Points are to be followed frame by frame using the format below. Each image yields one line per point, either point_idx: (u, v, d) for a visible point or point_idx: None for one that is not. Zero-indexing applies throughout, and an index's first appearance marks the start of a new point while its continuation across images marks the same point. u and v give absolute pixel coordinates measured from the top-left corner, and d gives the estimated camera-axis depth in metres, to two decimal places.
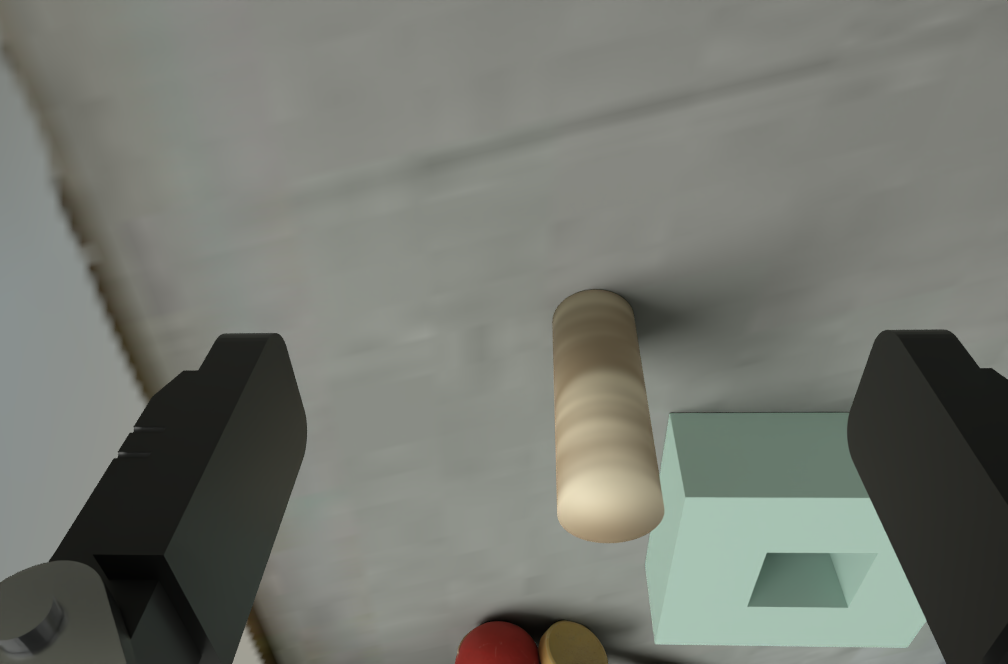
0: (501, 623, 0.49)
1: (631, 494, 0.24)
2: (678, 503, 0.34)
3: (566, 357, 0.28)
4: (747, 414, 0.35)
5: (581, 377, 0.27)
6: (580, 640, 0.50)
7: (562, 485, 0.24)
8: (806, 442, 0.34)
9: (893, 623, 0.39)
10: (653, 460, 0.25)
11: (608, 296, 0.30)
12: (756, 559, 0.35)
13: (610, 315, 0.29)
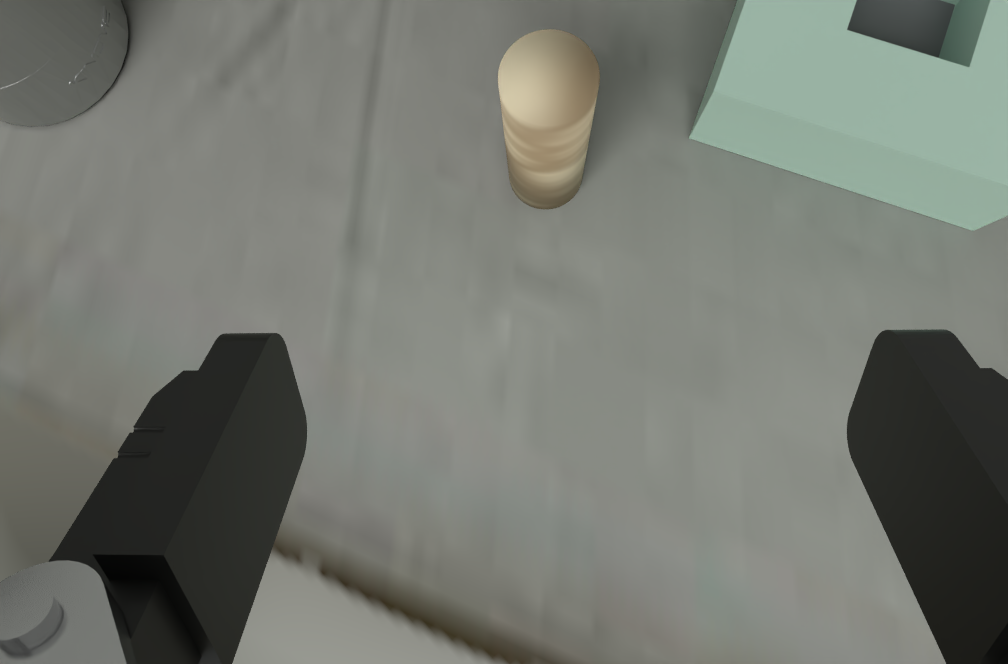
0: None
1: (525, 52, 0.26)
2: (744, 111, 0.31)
3: (510, 164, 0.32)
4: (713, 68, 0.36)
5: None
6: None
7: (514, 119, 0.26)
8: (738, 5, 0.34)
9: None
10: None
11: None
12: (858, 42, 0.30)
13: None
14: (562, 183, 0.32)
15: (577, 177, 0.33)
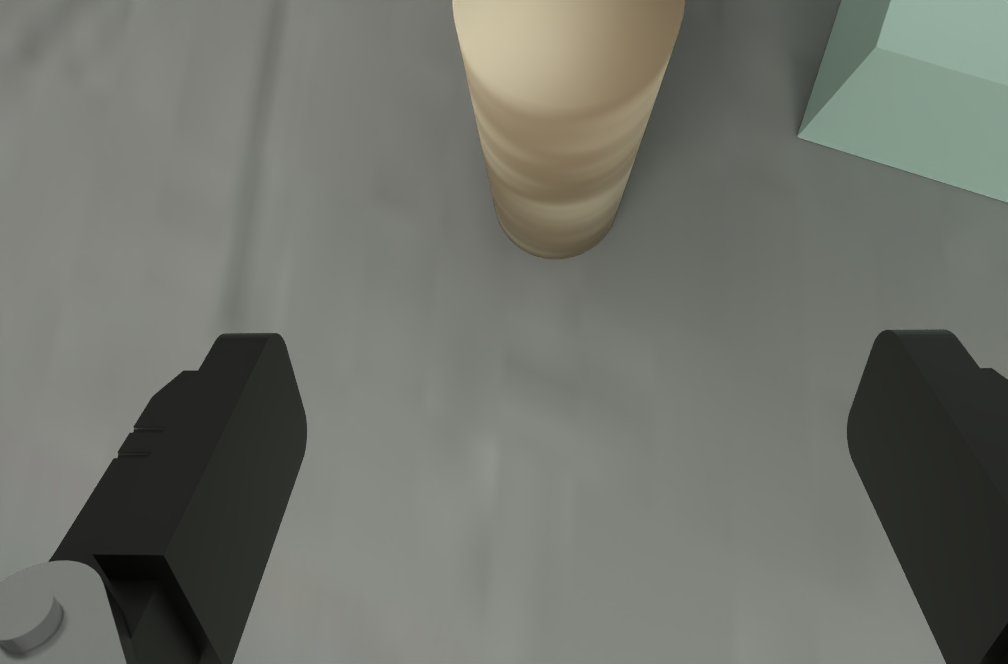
0: None
1: None
2: (928, 85, 0.17)
3: (492, 186, 0.17)
4: (835, 20, 0.21)
5: None
6: None
7: (492, 94, 0.12)
8: None
9: None
10: None
11: None
12: None
13: None
14: (588, 221, 0.18)
15: (613, 208, 0.18)
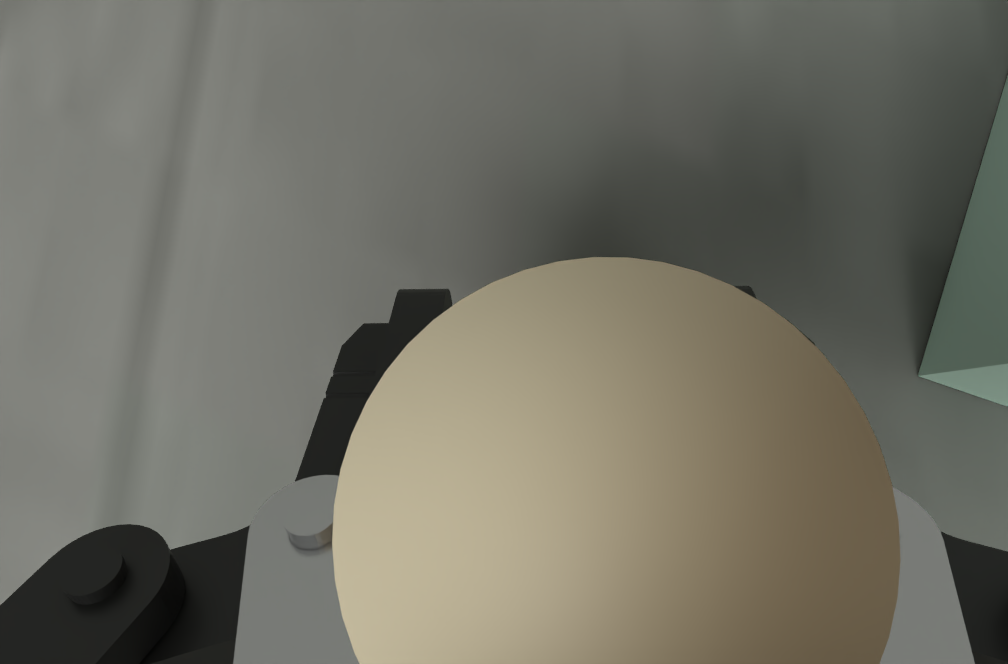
0: None
1: (481, 384, 0.05)
2: None
3: None
4: (971, 201, 0.15)
5: None
6: None
7: None
8: None
9: None
10: None
11: None
12: None
13: None
14: None
15: None
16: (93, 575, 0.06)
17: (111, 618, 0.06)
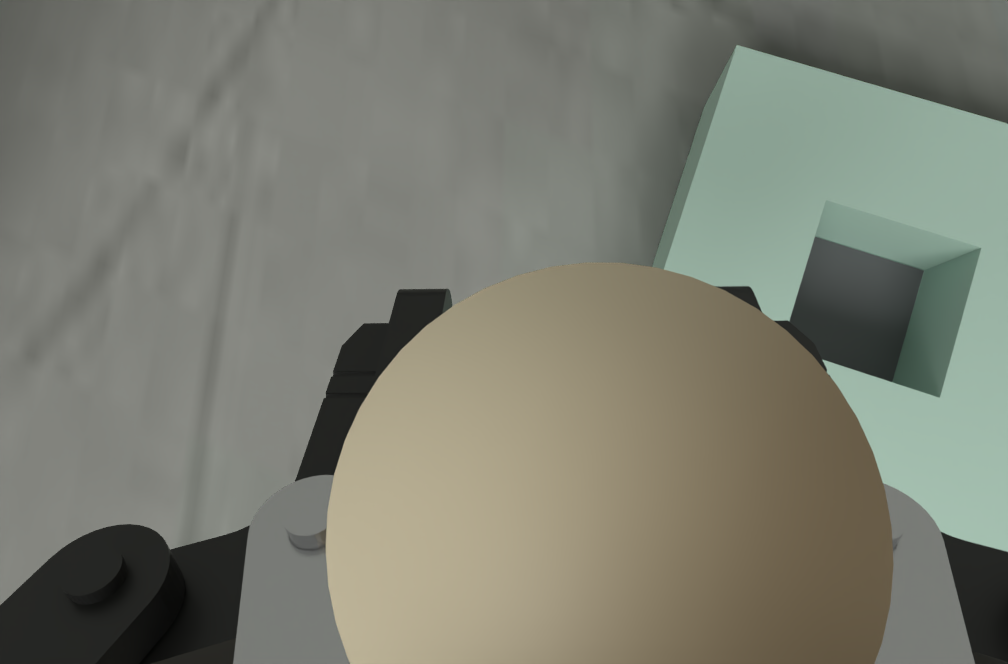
0: None
1: (475, 389, 0.05)
2: None
3: None
4: None
5: None
6: None
7: None
8: None
9: None
10: None
11: None
12: None
13: None
14: None
15: None
16: (94, 574, 0.06)
17: (111, 618, 0.06)
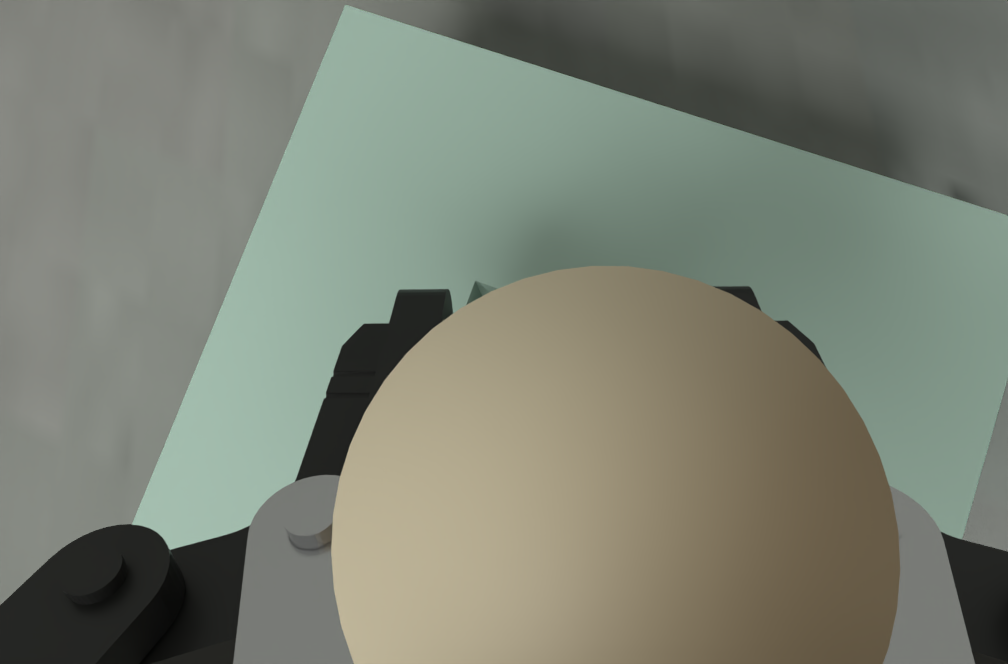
0: None
1: (481, 393, 0.05)
2: None
3: None
4: None
5: None
6: None
7: None
8: None
9: (876, 259, 0.13)
10: None
11: None
12: None
13: None
14: None
15: None
16: (93, 574, 0.06)
17: (111, 618, 0.06)
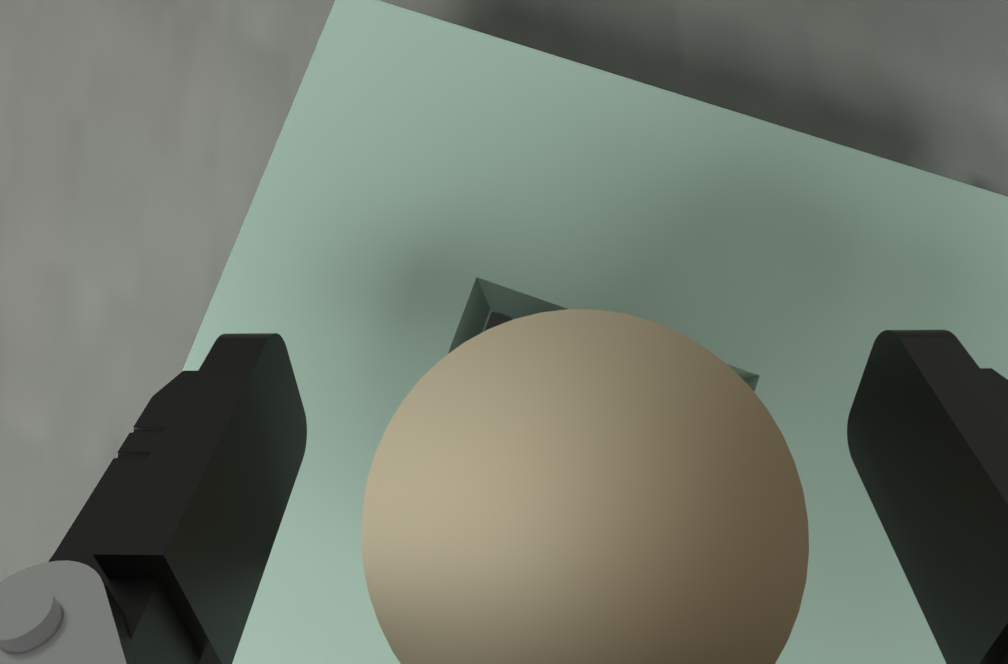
0: None
1: (479, 411, 0.06)
2: None
3: None
4: None
5: None
6: None
7: None
8: None
9: (901, 254, 0.12)
10: None
11: None
12: None
13: None
14: None
15: None
16: None
17: None
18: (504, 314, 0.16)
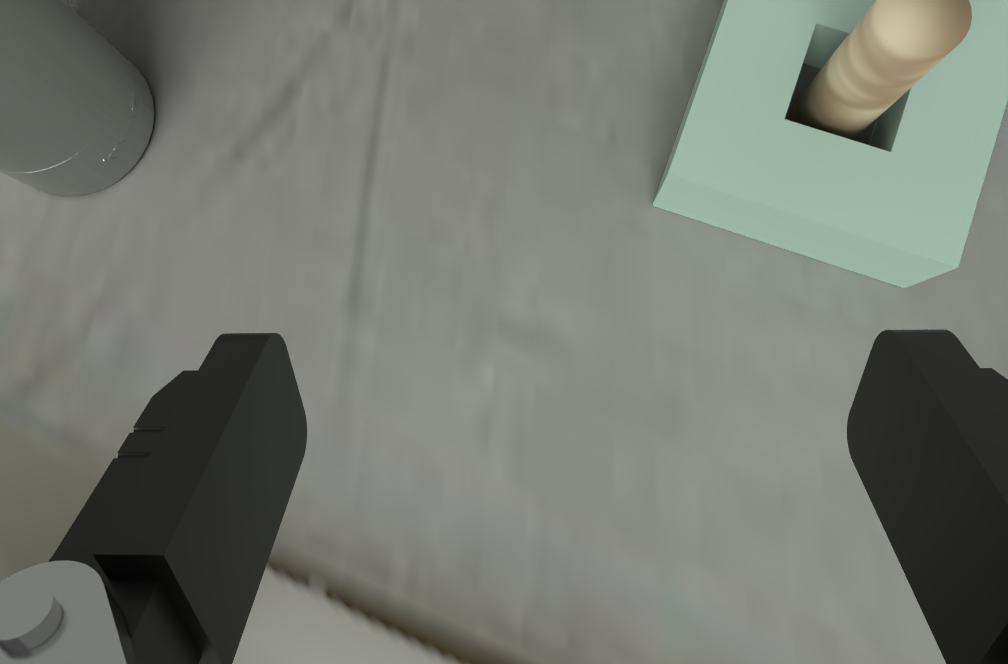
0: None
1: None
2: (696, 189, 0.35)
3: (820, 105, 0.35)
4: (674, 143, 0.40)
5: (828, 78, 0.33)
6: None
7: (887, 52, 0.29)
8: (694, 89, 0.38)
9: None
10: None
11: (798, 97, 0.38)
12: (794, 129, 0.35)
13: (807, 86, 0.37)
14: (868, 123, 0.35)
15: None
16: None
17: None
18: None
